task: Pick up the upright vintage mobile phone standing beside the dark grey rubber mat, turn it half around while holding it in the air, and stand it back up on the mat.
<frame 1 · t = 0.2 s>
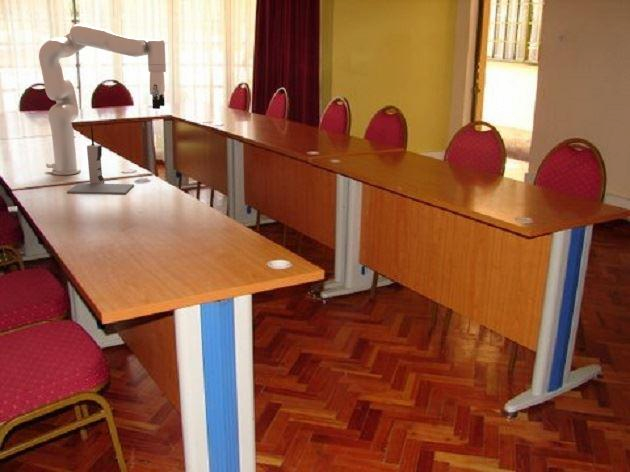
hand: (158, 107, 302), 31 cm above the table, tool pointing down, fingers open, 9 cm apart
vintage mobile phone: (97, 183, 294), on the table
mat: (101, 189, 284), on the table
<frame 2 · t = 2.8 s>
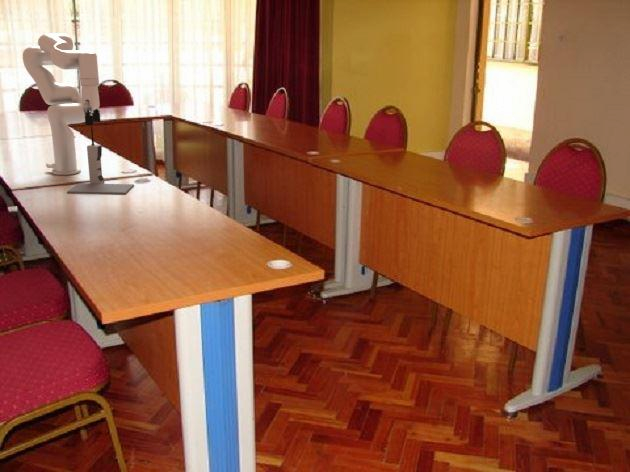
hand: (93, 123, 286), 26 cm above the table, tool pointing down, fingers open, 9 cm apart
nothing on the table moved.
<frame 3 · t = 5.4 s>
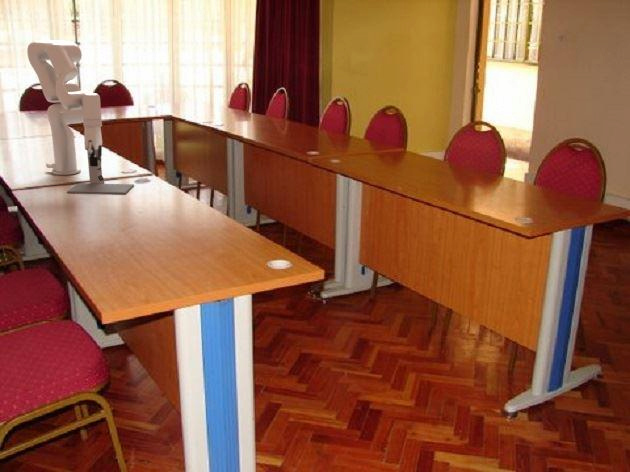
hand: (95, 164, 292), 8 cm above the table, tool pointing down, fingers closed on vintage mobile phone, 4 cm apart
vintage mobile phone: (97, 183, 294), on the table, touching gripper
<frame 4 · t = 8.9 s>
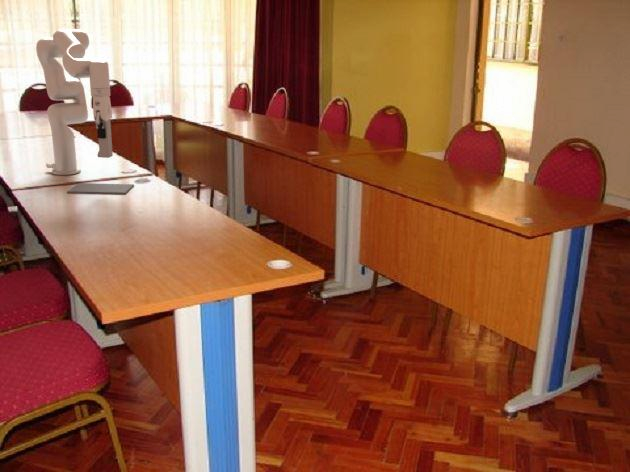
hand: (103, 136, 276), 23 cm above the table, tool pointing down, fingers closed on vintage mobile phone, 4 cm apart
vintage mobile phone: (105, 157, 279), point 14 cm above the table, touching gripper
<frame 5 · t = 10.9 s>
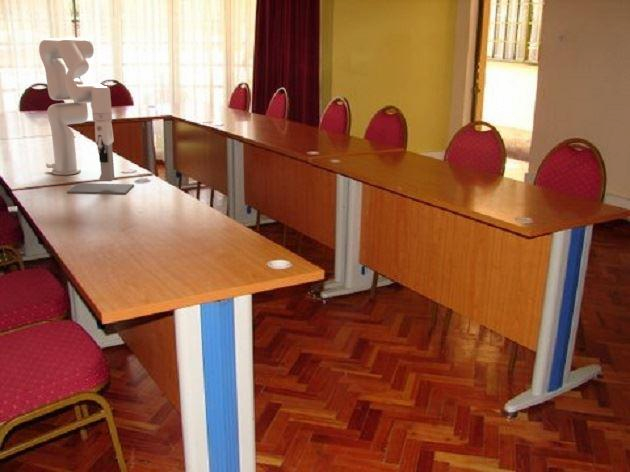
hand: (105, 160, 279), 13 cm above the table, tool pointing down, fingers closed on vintage mobile phone, 4 cm apart
vintage mobile phone: (107, 180, 282), point 4 cm above the table, touching gripper
when the fingers open (10 cm above the table, at t = 12.4 s): vintage mobile phone stays where it is, resting on mat.
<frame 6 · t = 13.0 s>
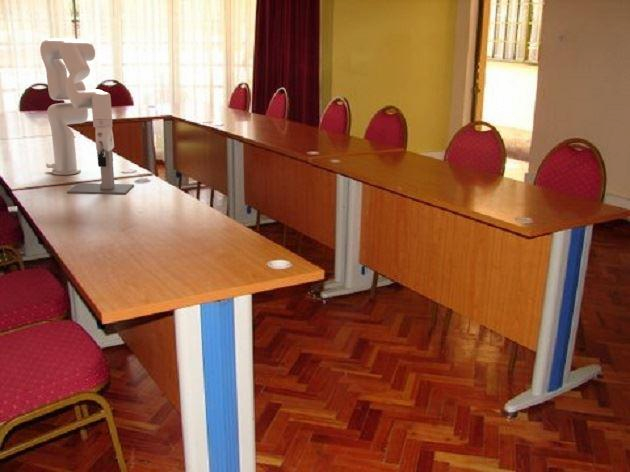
hand: (105, 164, 279), 11 cm above the table, tool pointing down, fingers open, 9 cm apart
vintage mobile phone: (107, 188, 283), point 1 cm above the table, touching mat
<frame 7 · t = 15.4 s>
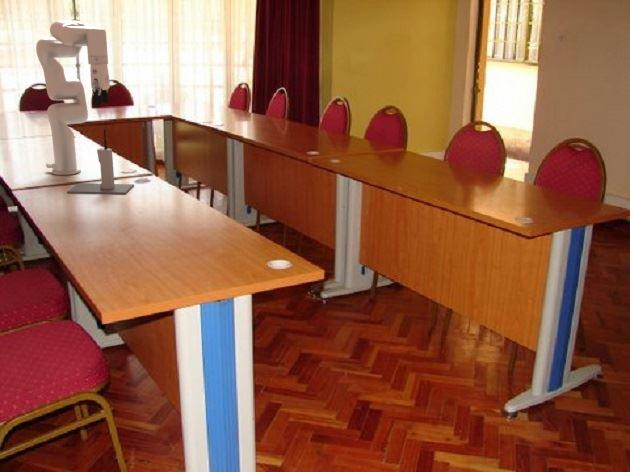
hand: (101, 103, 272), 36 cm above the table, tool pointing down, fingers open, 9 cm apart
nothing on the table moved.
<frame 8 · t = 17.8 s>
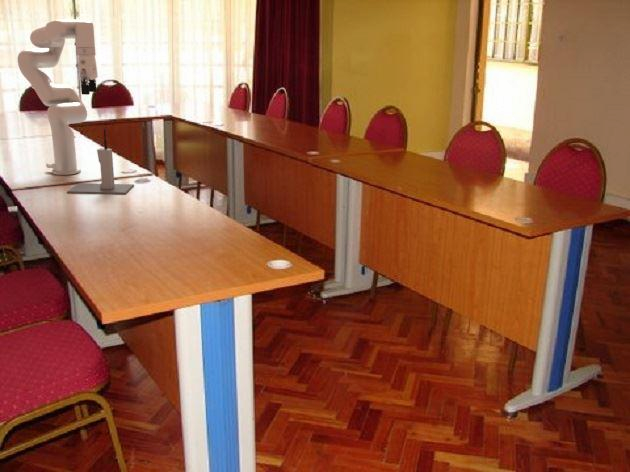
hand: (89, 93, 287), 38 cm above the table, tool pointing down, fingers open, 9 cm apart
nothing on the table moved.
at the end: vintage mobile phone inside the target area on the mat (0.4 cm from its centre), point 0.6 cm above the mat's base; vintage mobile phone tilted 0°; the gripper is holding nothing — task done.
